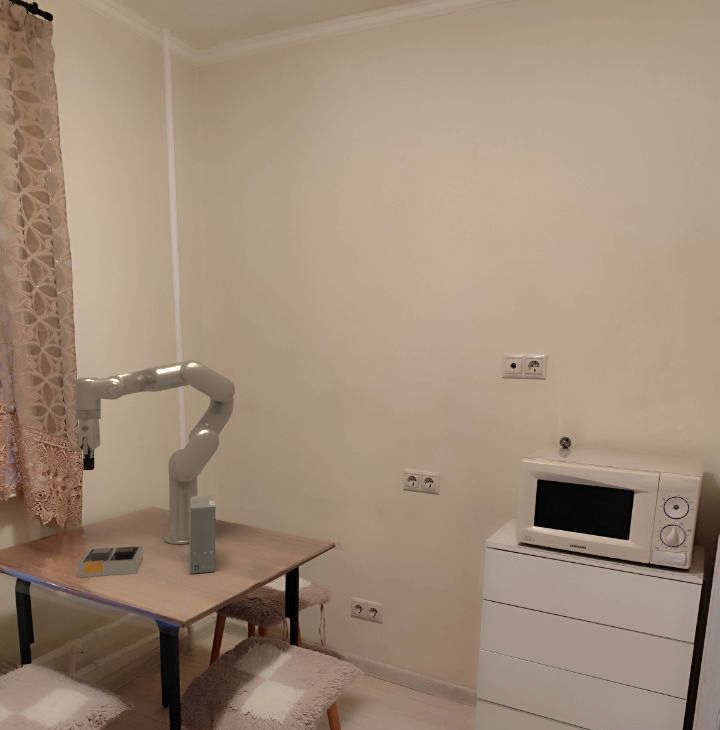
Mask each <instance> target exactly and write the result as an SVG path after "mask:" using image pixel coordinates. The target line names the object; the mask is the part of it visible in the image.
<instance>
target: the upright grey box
mask: <svg viewBox="0 0 720 730" xmlns="http://www.w3.org/2000/svg"><path fill="white" fill-rule="evenodd" d="M102 548H103V549H95V548H94V549H95V550H94V551H93V552H92V561H106V560H107V559H108V557H109V555H110V554H111V552H112V547H102Z"/></svg>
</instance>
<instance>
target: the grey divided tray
mask: <svg viewBox="0 0 720 730" xmlns="http://www.w3.org/2000/svg"><path fill="white" fill-rule="evenodd" d="M103 548H104V547H98V548H89V549H88V550H87V551H86V553H85V554H84V555H83V556H82V558H81V559H80V561H78V564H77V578H89V577H90V578H91V577H103V576H105V577H106V576H115V575H116V576H117V575H118V576H120V575H131V574H132V575H133V574H136V573H137V572H138V569H139V567H140V565H141V564H142V563H141V562H142V560H143V559H144V551H143V550H144V546H143V545H134V546H133V545H131V546H115V547H114V546H113V547H111V548H112V552H111V554H110V555H109V557H108V559H107V560H106V561H92V552H93V551H94V550H95V549H103Z"/></svg>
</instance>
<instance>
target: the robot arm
mask: <svg viewBox="0 0 720 730" xmlns="http://www.w3.org/2000/svg"><path fill="white" fill-rule="evenodd" d="M186 386H190V387H192V388H194V389H195V390H197V391H199V392H201V393H202V394H203V395H206V396H208V397H209V400H210V401H209V405H208V407H207V409H206V411H205V412H204V414H203V416H202V417H201V418H200V419H199V421H198V422H197V423H196V425H195V426H193V428H192V429H191V431H190V432H189V434H188V442H187V443H186V445H185V446H184V448H181V449H177V450H176V451H174V452H173V453H172V455H170V458H169V460H168V481H169V483H168V484H169V489H168V491H169V493H168V495H169V499H168V502H169V505H168V507H169V508H168V509H169V511H168V512H169V516H168V517H169V520H168V521H169V530H168V531H169V532H168V533H167V534H166V535H165V536H164V541H165V542H166V543H168V544H172V545H187V544H190V497H192V496H198V476H199V475H200V474H201V473H202V472H203V470H204V469H205V467H206V466H207V464H208V463H209V462H210V460H211V459H212V457H213V456H214V455H215V453H216V451H217V450H218V447H219V445H220V436H219V435H220V434H221V432H222V431H223V430H224V428H225V427H226V425H227V423H228V422H229V420H230V418H231V417H232V414H233V410H234V404H235V402H234V396H235V394H236V388H235V384H234V382H233V381H231V380H230V379H229V378H227V377H225V376H224V375H222V374H220V373H218V372H217V371H215V370H213V369H212V368H210V367H208V366H206V365H205V364H203V363H202V362H200V361H198V360H187V361H179V362H175V363H170V364H169V363H168V364H163V365H159V366H153V367H149V368H145V369H142V370H136V371H132V372H131V371H130V372H127V373H121V374H115V375H110V376H108V377H105V378H103V377H102V378H98V377H79V378H78V379H76V381H75V420H76V421H78V449H79V450H80V451H82V470H83V471H93V470H95V463H96V462H95V450H96V449H97V448H99V447H100V445H101V430H100V421H99V420H101V419H102V409H101V408H102V404H101V403H102V400H113V401H114V400H119V399H120V398H121V397H124V396H126V395H127V396H128V395H132V394H136V393H144V392H151V393H152V392H154V393H155V392H162V391H167V390H172V389H176V388H181V387H186Z"/></svg>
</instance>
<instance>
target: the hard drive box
mask: <svg viewBox="0 0 720 730" xmlns="http://www.w3.org/2000/svg"><path fill="white" fill-rule="evenodd" d="M214 496H215V495H214V494H212V495H210V494H209V495H197V496H192V497H190V543H188V544H189V545H188V546H189V548H188V549H189V550H188V552H189V557H188V559H189V560H188V561H189V562H188V563H189V565H188V568H189V574H200V573H201V574H202V573H210V572H215V571H216V512H217V511H216V502H215V497H214Z"/></svg>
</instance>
